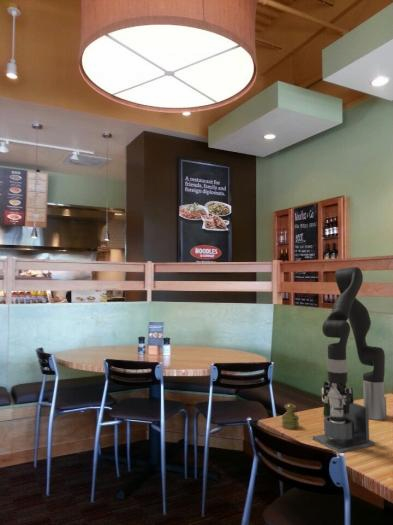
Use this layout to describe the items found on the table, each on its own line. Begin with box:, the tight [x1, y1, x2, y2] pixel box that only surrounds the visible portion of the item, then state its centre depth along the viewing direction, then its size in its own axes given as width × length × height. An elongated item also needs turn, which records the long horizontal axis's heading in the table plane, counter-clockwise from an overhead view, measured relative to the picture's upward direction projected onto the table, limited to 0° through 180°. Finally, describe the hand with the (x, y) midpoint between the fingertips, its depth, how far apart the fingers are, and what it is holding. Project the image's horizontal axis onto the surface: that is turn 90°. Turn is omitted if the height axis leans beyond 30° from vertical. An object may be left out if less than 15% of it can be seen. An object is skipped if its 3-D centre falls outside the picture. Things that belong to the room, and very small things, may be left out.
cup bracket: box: [312, 399, 376, 453], centre depth 166 cm, size 18×15×14 cm
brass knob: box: [281, 403, 300, 430], centre depth 185 cm, size 7×8×10 cm
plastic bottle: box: [328, 383, 346, 424], centre depth 166 cm, size 6×7×20 cm
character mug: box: [321, 387, 330, 417], centre depth 199 cm, size 11×7×13 cm, turn 163°
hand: (338, 410), depth 165 cm, fingers open, 8 cm apart
